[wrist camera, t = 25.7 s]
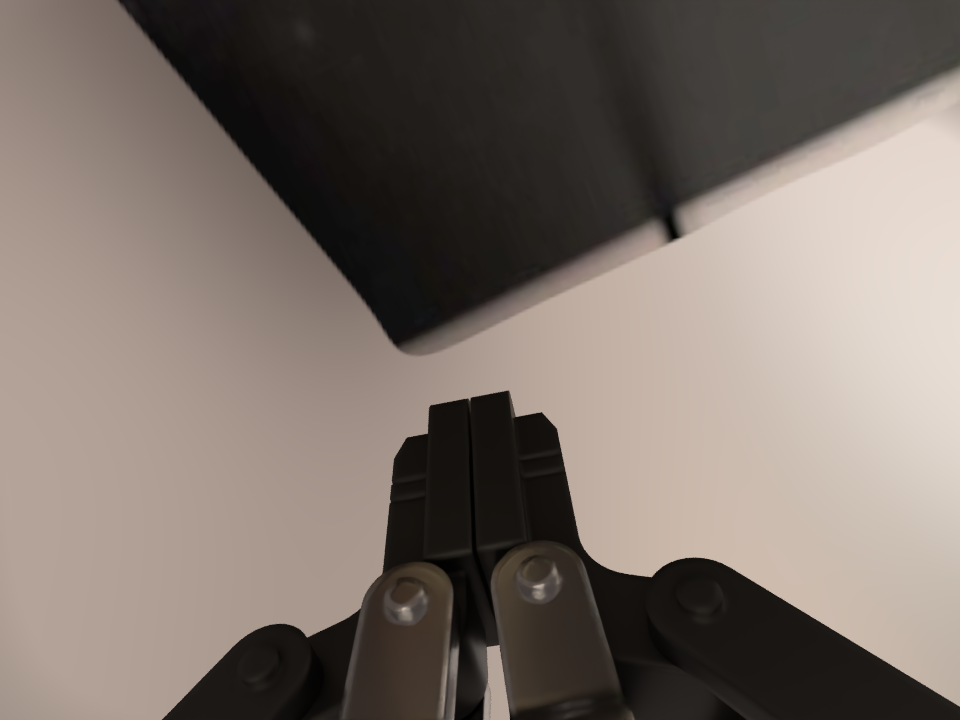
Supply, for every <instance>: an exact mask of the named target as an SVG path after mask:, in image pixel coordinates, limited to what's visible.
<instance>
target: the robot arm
mask: <svg viewBox="0 0 960 720" xmlns="http://www.w3.org/2000/svg"><path fill="white" fill-rule="evenodd" d="M392 483H393V485H391V495H390V500H391V503H390V505H389V515H388V526H387V536H386V545H385V556H384V566H383V573H382V575H381V576H380V577H378V578H377V579H376V580H375V582H374V583H373V584H372V585H371V586H370V588H369V589H368V591H367V593H366V594H365V597H364V599H363V602H362V606H361V609H359V610H358V611H357V612H356V613H355V614H353V615H352V616H350V617H349V618H347V619H345V620H343V621H341V622H339V623H337V624H335V625H333V626H331V627H329V628H327V629H325V630H322V631H320V632H318V633H316V634H314V635H312V636H310V637H308V638H307V637H306V636H305V634H304V633H303V632H302V631H301V630H300V629H298V628H296V627H294V626H291V625H287V624H274V625H269V626H265V627H262V628H260V629H257V630H255V631H253V632H252V633H250V634H248V635H247V636H245V637H244V638H243V639H241V640H240V641H239V642H238V643H237V644H236V645H235V646H234V647H232V648H231V650H230V651H229V652H228V653H227V654H226V655H225V656H224V657H223V658H222V659H221V660H220V661H219V662H218V663H217V664H216V665H215V666H214V667H213V668H212V669H211V670H210V671H209V672H208V673H207V674H206V675H205V676H204V677H203V678H202V679H201V680H200V681H199V682H198V683H197V684H196V685H195V686H194V688H193V689H192V690H191V691H190V692H189V693H188V694H187V695H186V696H185V697H184V698H183V699H182V700H181V701H180V702H179V703H178V704H177V705H176V706H175V707H174V708H173V709H172V710H171V711H170V712H169V713H168V714H167V716H165V717H164V718H163V719H162V720H490V710H491V693H490V687H489V683H488V667H487V647H489V646H496V645H500V652H501V659H502V665H503V672H504V679H505V685H506V692H507V698H508V705H509V712H510V720H960V707H959V706H957V705H956V704H954V703H953V702H951V701H949V700H948V699H946V698H944V697H942V696H941V695H939V694H938V693H936V692H934V691H933V690H931V689H929V688H928V687H926V686H925V685H923V684H921V683H920V682H918V681H916V680H915V679H913V678H911V677H910V676H908V675H906V674H905V673H903V672H901V671H900V670H898V669H896V668H895V667H893V666H892V665H890V664H888V663H887V662H885V661H883V660H882V659H880V658H878V657H877V656H875V655H873V654H872V653H870V652H868V651H867V650H865V649H864V648H862V647H860V646H858V645H857V644H855V643H854V642H852V641H850V640H849V639H847V638H845V637H844V636H842V635H840V634H839V633H837V632H835V631H834V630H832V629H830V628H829V627H827V626H825V625H824V624H822V623H821V622H819V621H817V620H816V619H814V618H812V617H811V616H809V615H807V614H806V613H804V612H802V611H801V610H799V609H797V608H796V607H794V606H793V605H791V604H789V603H788V602H786V601H784V600H783V599H781V598H779V597H777V596H776V595H774V594H773V593H771V592H769V591H768V590H766V589H765V588H763V587H761V586H760V585H758V584H756V583H755V582H753V581H751V580H750V579H748V578H746V577H745V576H743V575H741V574H740V573H738V572H736V571H735V570H733V569H732V568H730V567H728V566H726V565H724V564H722V563H719V562H717V561H714V560H710V559H705V558H685V559H680V560H676V561H673V562H671V563H669V564H667V565H665V566H663V567H662V568H661V569H660V570H658V571H657V572H656V573H655V574H654V575H653V577H645V576H637V575H629V574H624V573H619V572H615V571H612V570H610V569H607V568H605V567H603V566H601V565H600V564H598V563H597V562H596V561H594V560H593V559H592V558H591V557H590V556H589V555H588V554H587V552H586V551H585V550H584V548H583V546H582V544H581V542H580V539H579V536H578V531H577V526H576V521H575V516H574V511H573V506H572V502H571V496H570V491H569V486H568V481H567V476H566V472H565V467H564V462H563V457H562V452H561V448H560V442H559V437H558V432H557V428H556V427H555V426H554V425H553V424H552V423H551V422H550V421H549V420H548V419H547V418H546V416H545V415H544V414H543V413H542V412H541V413H536V414H530V415H525V416H519V417H515V412H514V408H513V404H512V399H511V396H510V392H509V391H504V392H498V393H493V394H488V395H483V396H478V397H472V398H471V400H470V401H469V399H462V400H457V401H452V402H447V403H441V404H436V405H431V406H430V407H429V424H428V434H424V435H418V436H413V437H408V438H407V439H406V440H405V442H404V443H403V445H402V447H401V448H400V450H399V452H398V453H397V455H396V457H395V458H394V465H393V476H392Z"/></svg>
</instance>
